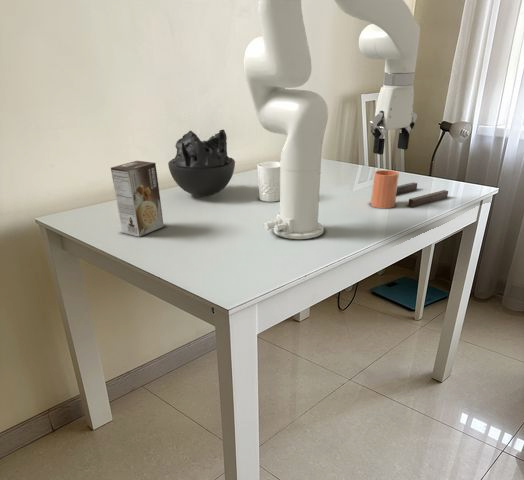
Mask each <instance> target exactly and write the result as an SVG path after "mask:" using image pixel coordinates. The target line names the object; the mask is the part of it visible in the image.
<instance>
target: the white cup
mask: <svg viewBox="0 0 524 480" xmlns="http://www.w3.org/2000/svg"><path fill="white" fill-rule="evenodd" d="M256 168H257V184H258V196H259V198H258V199H259V200H260V201H262V202H267V203H269V202H270V203H274V202H280V161H261V162H258V163H257V164H256Z"/></svg>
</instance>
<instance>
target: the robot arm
mask: <svg viewBox="0 0 524 480" xmlns="http://www.w3.org/2000/svg"><path fill="white" fill-rule="evenodd" d="M334 2H335V4H336V5H337V6H338V9H340V11H341V12H343V13H345V15H348V16H350V17H352V18H355V19H356V20H357V19H358V20H361V21H364V22H367V23H370V24H368V25H366V26H365V27H364V28H363V30H362V31H361V33H360V34H359V38H358V48H359V52H360V53H361V54H362V55H363V56H364V57H365V58H366V59H367V58H368V59H370V60H385V63H384V74H383V84H382V86H381V87H380V90H379V93H378V97H377V102H376V106H375V113H374V117H373V118H372V119H371V120H369V127H370V132H371V134H372V138H373V148H372V153H373V154H375V155H380V156H382V155H384V152H385V144H386V143H385V142H386V139H385V138H384V137H385V135H387V132H388V131H393V130H400V132H399V133H398V140H397V149H399V150H404V151H406V150H408V148H409V142H410V134H412V130H413V128H414V127H415V123H416V121H417V119H418V114H417V113H416V112H414V97H415V94H414V81H415V74H416V67H417V58H418V50H419V42H420V35H421V27H420V25H419V24H418V23H417V22H416V18H415V17H414V15H413V12H412V11H411V9H410V7H409V6H408V4H407V3H406V1H405V0H334ZM257 13H258V21H259V24H260V30H261V31H260V32H261V36H257V37H255V38H253V39H252V40H251V41H250V42H249V43H248V45H247V47H246V49H245V52H244V57H243V72H244V76H245V81H246V83H247V87H248V91H249V93H250V94H249V95H250V97H251V102H252V104H253V108H254V111H255V114H256V117H257V119H258V121H259V124H260V125H261V127H262V128H263V129H264V130H266V131H267V132H269V133H273V134H278V135H284V136H287V137H286V140H285V143H284V145H283V147H282V150H281V153H280V160H279V162H280V200H279V213H277V214H276V217H275V218H274V219H273V220H268V221H265V222H264V223H263V229H264V230H266V231H268V230H272V229H273V233H275V235H276V236H279V237H281V238H284V239H290V240H308V239H313V238H317V237H319V236H321V235H323V234H324V231H325V226H324V225H323V224H322V223H320V222H319V209H320V207H319V206H320V188H321V170H322V169H321V168H322V167H321V166H322V154H323V153H322V151H323V145H324V144H323V143H324V137H325V132H326V128H327V124H328V120H329V107H328V104H327V102H326V100H325V99H324V98H323V97H322V95H320V94H319V93H317V92H314V91H312V90H305V89H298V88H299V87H302V86H304V85H305V84H306V83H307V82H308V81H309V79H311V75H312V58H311V52H310V47H309V42H308V38H307V37H308V36H307V32H306V28H305V22H304V16H303V10H302V0H258V3H257ZM296 88H297V89H296Z"/></svg>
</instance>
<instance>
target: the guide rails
mask: <svg viewBox="0 0 524 480" xmlns="http://www.w3.org/2000/svg"><path fill="white" fill-rule="evenodd" d="M417 188H418V183H417V182H415V181H414V182H410V183H404V184H400V185H397V192H396V196H397V195H401V194H405V193H408V192H409V193H410V192H413V191H416V190H417ZM448 195H449V190H446V189H443V190H439V191H435V192H431V193H427V194H423V195H420V196H419V195H418V196H416V197H411V198H408V202H407V206H408V207H411V208H414V207H417V206H421V205H425V204H429V203H432V202H436V201H441V200H444V199H447V198H448Z"/></svg>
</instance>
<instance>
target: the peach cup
mask: <svg viewBox="0 0 524 480" xmlns="http://www.w3.org/2000/svg"><path fill="white" fill-rule="evenodd" d="M399 176H400V173H399V171H395V170H388V169H381V170H376V171H374V172H373V180H372V181H373V182H372V191H371V200H370V205H371V206H372V207H374V208H377V209H391V208H394V207H395V205H396V201H397V195H396V192H397V186H399V178H400V177H399Z"/></svg>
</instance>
